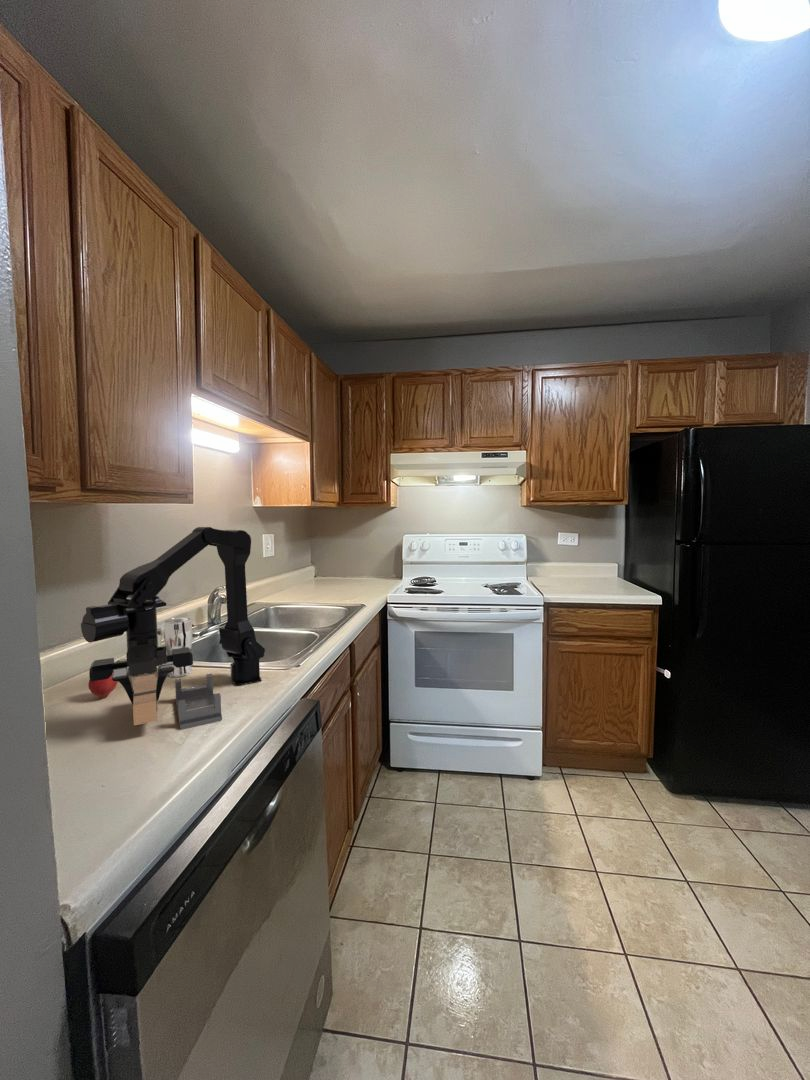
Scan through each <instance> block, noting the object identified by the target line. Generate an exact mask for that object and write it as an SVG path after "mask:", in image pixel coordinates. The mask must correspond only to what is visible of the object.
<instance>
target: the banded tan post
mask: <svg viewBox="0 0 810 1080" xmlns="http://www.w3.org/2000/svg"><path fill="white" fill-rule="evenodd" d="M133 690H134V694H133V705H132V713H133V714H132V715H133V716H132V717H133V726H138V725H139V726H140V725H143V724H148V723H152V722H157V721H158V701H157V695H156V674H155V673H153V674H148V675H143V676H142V675H141V676H135V677H134V685H133Z"/></svg>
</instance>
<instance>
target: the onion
mask: <svg viewBox="0 0 810 1080" xmlns="http://www.w3.org/2000/svg"><path fill="white" fill-rule="evenodd" d="M112 677H113V674H112V675H111V676H110V677H109V678H108V679H104V680H98V681H90V679H88V680H89V681H88V683H87V684H88V689H89V691H90V692H91V693H92V694H93V695H94V696H97V697H99V698H103V699H104V698H107V697H108V696H109V695H110V694H111V693H112V692H113V691H114V690H116V688H117V686H118V683H119V682H118V681H112Z"/></svg>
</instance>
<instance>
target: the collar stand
mask: <svg viewBox="0 0 810 1080" xmlns="http://www.w3.org/2000/svg"><path fill="white" fill-rule="evenodd" d="M205 676H206V677H205V678H206V680H205V681H206V682H205V683H206V684H202V685H196V686H190V687H185V688H182V680H181V679H182V678H177V679H174V688H175V689H174V691H175V696H174V697H175V704H176V710H177V711H176V712H177V716H178V718H177V719H178V722H179V723H178V724H179V728H180V729H179V730H180V731H181V730H186V729H190V728H194V727H199V726H204V725H208V724H213V723H217V721H218V722H222V721H223V715H222V701H221V700H222V698H221V693H220V692H217V693H214V682H213V681H214V679H213V678H214V677H213V674H212V673H206V675H205ZM221 720H222V721H221Z"/></svg>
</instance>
